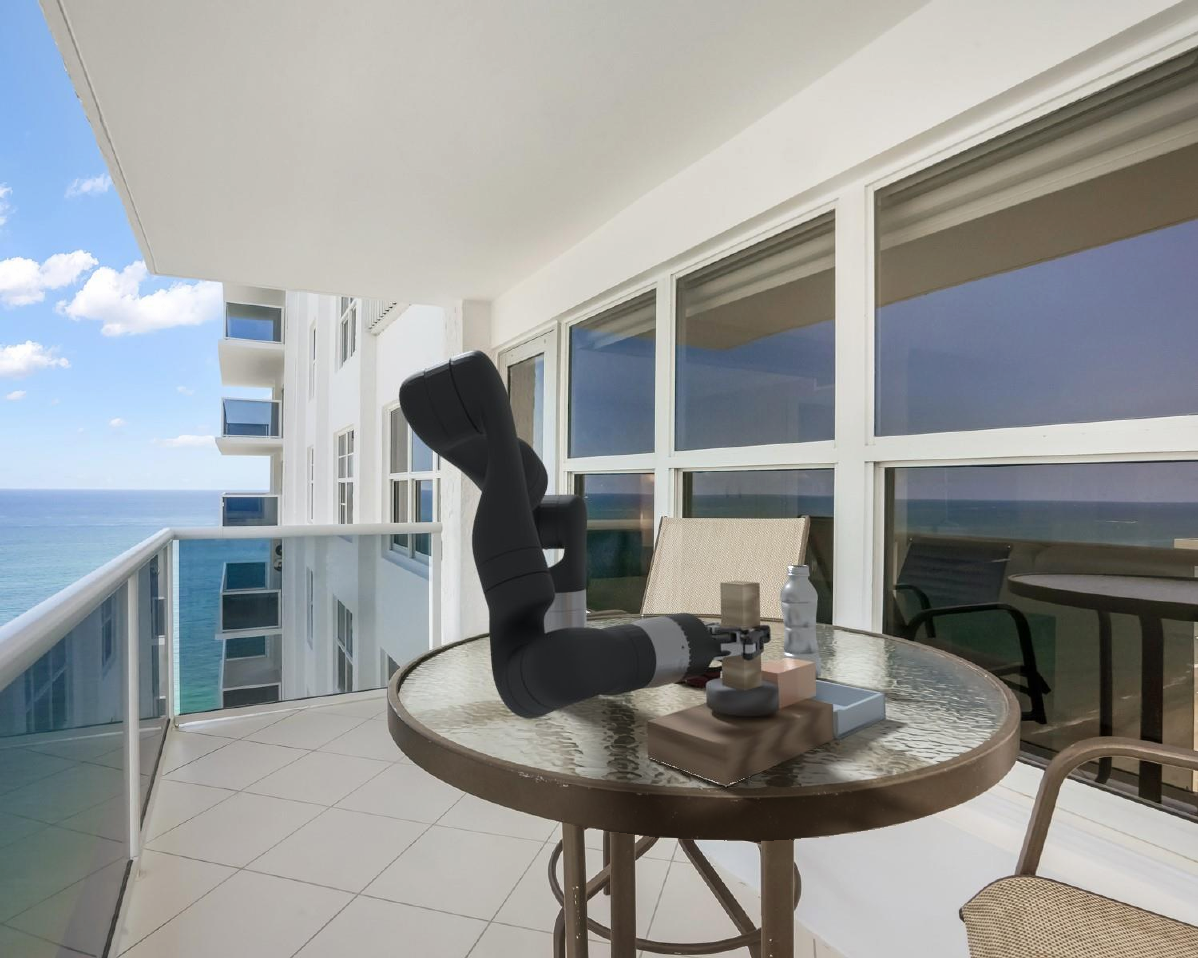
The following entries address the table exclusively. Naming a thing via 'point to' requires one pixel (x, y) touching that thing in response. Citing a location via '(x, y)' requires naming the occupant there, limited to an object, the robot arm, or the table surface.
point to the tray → (851, 706)
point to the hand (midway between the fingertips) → (754, 631)
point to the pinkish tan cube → (782, 681)
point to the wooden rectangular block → (738, 739)
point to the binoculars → (706, 676)
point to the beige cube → (802, 676)
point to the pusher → (741, 659)
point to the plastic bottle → (800, 616)
